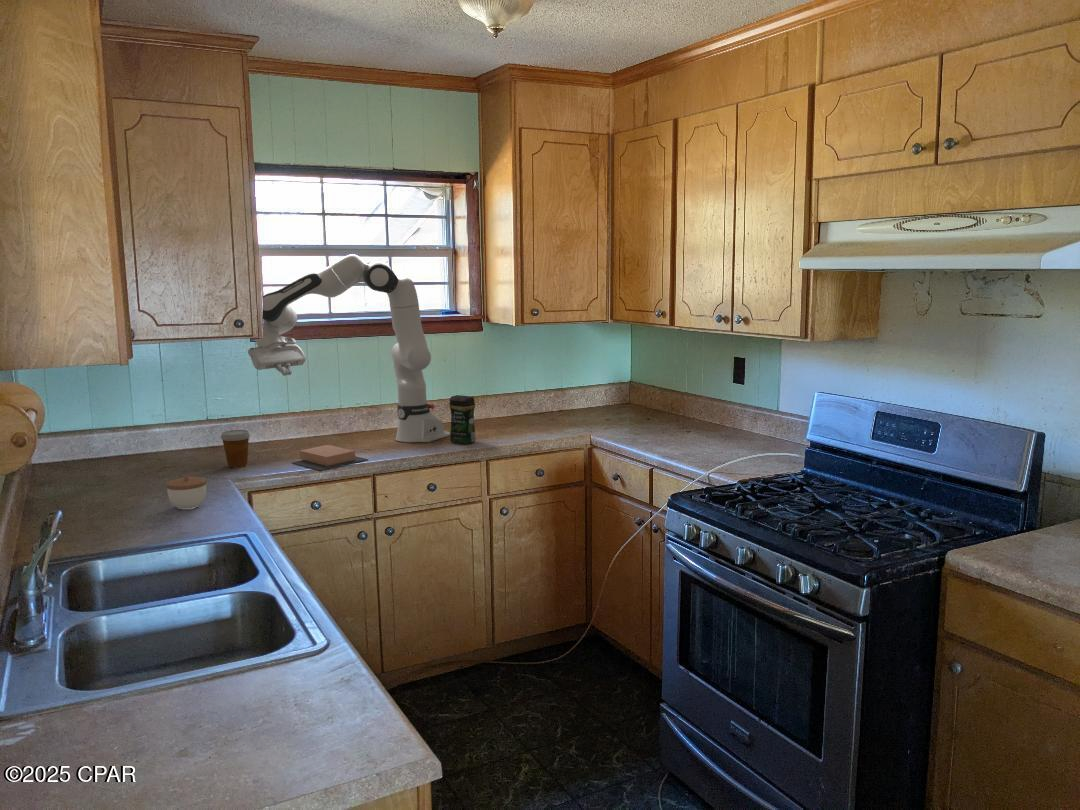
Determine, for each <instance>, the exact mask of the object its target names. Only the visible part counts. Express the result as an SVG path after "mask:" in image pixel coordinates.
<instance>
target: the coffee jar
mask: <svg viewBox="0 0 1080 810" xmlns="http://www.w3.org/2000/svg"><path fill="white" fill-rule="evenodd" d="M448 404H449V409H450V419H451V420H450V432H449V433H450V436H449V439H450V440H449V441H450V442H451V443H453V444H457V443H458V445H468V444H469V443H471V444H474V443H475V442H476V429H475V414H474V413H475V407H476V402H475V398H474V396H470V395H469V396H468V395H463V394H462V395H460V394H459V395H458V394H457V395H453V396H451V397H450V399H449V403H448ZM473 442H474V443H473Z"/></svg>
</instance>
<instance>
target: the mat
mask: <svg viewBox="0 0 1080 810" xmlns="http://www.w3.org/2000/svg"><path fill="white" fill-rule="evenodd" d="M366 461H369V459H368V458H364V457H361V456H356V455H355V459H354V460H352V461H348V462H343V463H339V464H335V465H330V466H324V465H321V464H317V463H313V462H309V461H305V460H302V459H300V460H298V461H293V462H291V463H292V465H295V466H299V467H304V468H307V469H311V470H315V471H319V472H322V471H326V470H331V469H336V468H340V467H345V466H349V465H354V464H356V463H361V462H366Z"/></svg>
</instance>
